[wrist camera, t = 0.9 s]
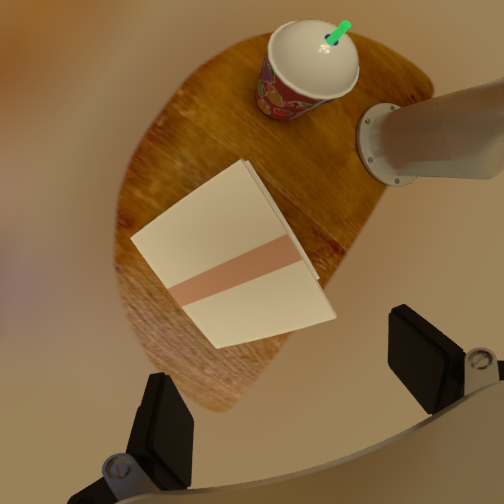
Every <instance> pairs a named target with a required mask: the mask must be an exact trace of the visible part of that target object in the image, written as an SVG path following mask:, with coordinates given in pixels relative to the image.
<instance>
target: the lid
mask: <svg viewBox="0 0 504 504" xmlns="http://www.w3.org/2000/svg"><path fill="white" fill-rule="evenodd" d="M130 239H131V240H132V242H133V243H134V244H135V246H136V247H137V249H138V250H139V251H140V253H141V254H142V256H143V257H144V258H145V260H146V261H147V263H148V264H149V265H150V267H151V268H152V269H153V271H154V272H155V273H156V275H157V276H158V277H159V279H160V280H161V281H162V283H163V284H164V285H165V287H166V288H167V290H168V292H169V293H170V294H171V296H172V297H173V298H174V299H175V301H176V302H177V303H178V304H179V306H180V307H182V308H183V310H184V311H185V312H186V313H187V315H188V316H189V317H190V318H191V319H192V321H193V322H194V323H195V324H196V325H197V327H198V328H199V329H200V330H201V331H202V333H203V334H204V335H205V336H206V337H207V339H208V340H209V341H210V342H211V343H212V344H213V345H214V347H215V348H216V349H218V348H223V347H227V346H232V345H237V344H241V343H245V342H250V341H254V340H258V339H262V338H266V337H270V336H274V335H278V334H282V333H286V332H290V331H293V330H297V329H300V328H304V327H308V326H311V325H315V324H318V323H321V322H325V321H328V320H332V319H335V318H336V313H335V311H334V310H333V308H332V306H331V304H330V302H329V301H328V299H327V297H326V295H325V294H324V292H323V290H322V288H321V287H320V285H319V283H318V281H317V280H316V278H315V276H314V274H313V273H312V271H311V269H310V268H309V266H308V264H307V262H306V261H305V259H304V257H303V256H302V254H301V252H300V251H299V249H298V247H297V245H296V244H295V242H294V240H293V239H292V237H291V235H290V234H289V232H288V231H287V229H286V227H285V226H284V224H283V222H282V221H281V219H280V217H279V216H278V214H277V212H276V211H275V209H274V208H273V206H272V204H271V203H270V201H269V200H268V198H267V196H266V195H265V193H264V192H263V190H262V188H261V187H260V185H259V184H258V182H257V181H256V179H255V177H254V176H253V174H252V173H251V171H250V170H249V168H248V167H247V165H246V163H245V162H244V160H243V159H241V160H239V161H237V162H236V163H234V164H233V165H231V166H230V167H228V168H227V169H225V170H224V171H222V172H221V173H219V174H218V175H216V176H215V177H213V178H212V179H210V180H209V181H207V182H206V183H204V184H203V185H201V186H200V187H198V188H197V189H196V190H194V191H193V192H191V193H190V194H188V195H187V196H186V197H184V198H183V199H181V200H180V201H179V202H177V203H176V204H174V205H173V206H172V207H170V208H169V209H168V210H166V211H165V212H164V213H162V214H161V215H160V216H158V217H157V218H156V219H154V220H153V221H152V222H150V223H149V224H148V225H146V226H145V227H144V228H143V229H141V230H140V231H139V232H137V233H136V234H135V235H134V236H132V237H131V238H130Z"/></svg>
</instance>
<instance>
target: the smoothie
mask: <svg viewBox="0 0 504 504" xmlns="http://www.w3.org/2000/svg"><path fill="white" fill-rule="evenodd" d="M350 27H351V23H350V22H348V21H343V22H342V23H341V24H340V25H339V26H338V27H337V26H336V25H334V24H332V23H329V22H327V21H323V20H316V19H307V20H299V21H291V22H288V23H286V24H284V25H282V26H280V27H279V28H278V29H277V30H276V31H275V32H274V33H273V34H272V35H271V37H270V40H269V43H268V46H267V53H266V56H265V59H264V63H263V66H262V69H261V73H260V76H259V80H258V83H257V86H256V90H255V98H256V102H257V104H258V106H259V108H260V109H261V110H262V111H263V112H264V113H265V114H266V115H268V116H269V117H271V118H273V119H277V120H292V119H295V118H297V117H299V116H301V115H303V114H305V113H307V112H309V111H311V110H313V109H315V108H317V107H319V106H321V105H323V104H325V103H327V102H330V101H332V100H334V99H336V98H339V97H342V96H343V95H345V94H346V93H348V92H350V91H351V90H352V88H353V87H354V85H355V84H356V82H357V80H358V75H359V58H358V52H357V49H356V47H355V45H354V43H353V41H352V39H351V38H350V37H349V36H348V35H347V34H346V31H347V30H348V29H349V28H350Z"/></svg>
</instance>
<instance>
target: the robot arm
mask: <svg viewBox="0 0 504 504" xmlns="http://www.w3.org/2000/svg"><path fill="white" fill-rule="evenodd" d="M365 122H366V123H365ZM357 147H358V151H359V154H360V157H361V160H362V162H363V164H364V166H365V167H366V169H367V170H368V172H369V173H370V174H371V175H372V176H373V177H374V178H375V179H377V180H378V181H379V182H381V183H383V184H386V185H389V186H397V187H399V186H405V185H407V184H410V183H411V182H413V181H414V180H415V179H416V178H417V177H418V176H424V177H449V178H466V179H490V178H493V177H495V176H497V175H499V174H500V173H501V172H502V171H503V170H504V77H503V78H500V79H497V80H495V81H492V82H489V83H486V84H482V85H479V86H476V87H472V88H468V89H465V90H460V91H457V92H453V93H451V94H446V95H443V96H439V97H435V98H432V99H428V100H425V101H422V102H418V103H415V104H412V105H408V106H405V107H402V108H401V107H400V106H397V105H395V104H391V103H380V104H377V105H375V106H373V107H371V108H369V109H368V110H367V111H366V112H365V113H364V114H363V115H362V117H361V119H360V121H359V124H358V128H357ZM388 364H389V367H390V368H391V370H392V371H393V372H394V373H395V374H396V376H397V377H398V378H399V379H400V380H401V382H402V383H403V384H404V385H405V386H406V387H407V389H408V390H409V391H410V393H411V394H412V395H413V396H414V397H415V399H416V400H417V401H418V402H419V404H420V405H421V406H422V407H423V409H424V410H425V411H426V412H427V413H428V414H432V416H431V417H429V418H427V419H425V420H424V421H422V422H420V423H418V424H416V425H414V426H412V427H411V428H409V429H407V430H405V431H403V432H401V433H399V434H397V435H395V436H393V437H390V438H388V439H386V440H384V441H382V442H380V443H377V444H375V445H373V446H370V447H368V448H365V449H363V450H361V451H358V452H356V453H353V454H351V455H348V456H345V457H342V458H340V459H337V460H334V461H331V462H328V463H325V464H321V465H318V466H315V467H312V468H308V469H305V470H301V471H297V472H294V473H289V474H285V475H281V476H277V477H272V478H268V479H263V480H258V481H252V482H246V483H240V484H233V485H226V486H218V487H209V488H199V489H187V487H190V486H191V474H192V451H193V433H194V420H193V417H192V415H191V413H190V412H189V410H188V408H187V406H186V405H185V403H184V401H183V400H182V397H181V396H180V394H179V392H178V390H177V388H176V386H175V385H174V383H173V381H172V379H171V377H170V376H169V375H165V373H164V372H161V373H155V374H150V376H149V379H148V382H147V385H146V388H145V392H144V395H143V399H142V402H141V405H140V406H139V407H138V409H137V412H136V416H135V419H134V423H133V427H132V430H131V434H130V438H129V441H128V446H127V449H126V453H118V454H114V455H112V456H110V457H109V458H108V459H106V461H105V462H104V464H103V466H102V474H103V477H102V478H100V479H99V480H97V481H96V482H94V483H93V484H91V485H90V486H88V487H86V488H85V489H83V490H81V491H80V492H78V493H77V494H75V495H73V496H72V497H71V498H70V499H69V501H68V502H67V504H504V361H497V358H496V355H495V354H494V353H493V352H492V351H491V350H489V349H486V348H474V349H472V350H470V351H469V352H468V353H467V354H466V353H465V352H463V349H462V348H460V347H459V346H458V345H457V344H456V343H454V342H453V341H452V340H451V339H449V338H448V337H447V336H446V335H444V334H443V333H442V332H441V331H439V330H438V329H437V328H436V327H434V326H433V325H432V324H430V323H429V322H428V321H427V320H425V319H424V318H423V317H421V316H420V315H419V314H417V313H416V312H415V311H414V310H412V309H411V308H410V307H408V306H407V305H405V304H402V305H400V306H397V307H394V308H393V309H392V310H391V313H389V333H388Z"/></svg>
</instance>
